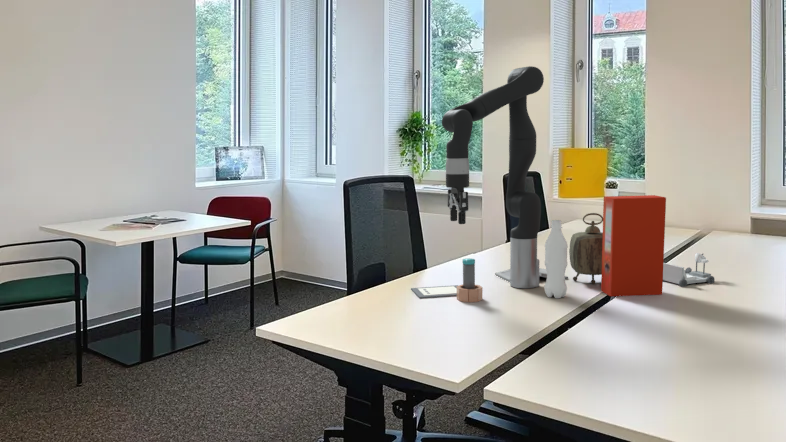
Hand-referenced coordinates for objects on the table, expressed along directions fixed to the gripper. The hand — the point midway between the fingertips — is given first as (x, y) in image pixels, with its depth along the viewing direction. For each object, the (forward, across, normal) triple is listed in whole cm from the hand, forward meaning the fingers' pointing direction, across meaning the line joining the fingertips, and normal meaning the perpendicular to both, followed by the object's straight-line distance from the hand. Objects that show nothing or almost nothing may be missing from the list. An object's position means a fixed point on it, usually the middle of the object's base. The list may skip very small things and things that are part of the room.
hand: (457, 222), depth 204 cm
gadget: (+26, +21, -35) cm, 48 cm away
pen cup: (+25, -4, -2) cm, 25 cm away
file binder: (+25, -11, -56) cm, 63 cm away
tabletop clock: (+25, +6, -52) cm, 58 cm away
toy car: (+25, -1, -85) cm, 89 cm away
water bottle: (+25, -9, -30) cm, 40 cm away
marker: (+24, -4, -2) cm, 25 cm away
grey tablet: (+25, +8, +4) cm, 26 cm away
